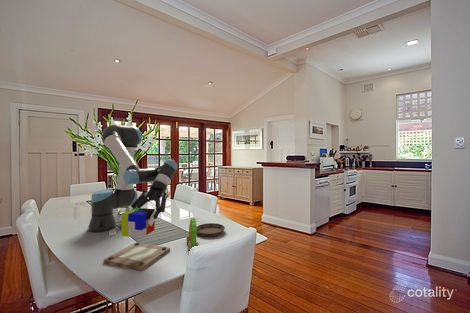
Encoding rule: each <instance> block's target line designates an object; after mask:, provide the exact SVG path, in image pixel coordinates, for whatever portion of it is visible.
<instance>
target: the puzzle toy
mask: <svg viewBox="0 0 470 313" xmlns="http://www.w3.org/2000/svg"><path fill="white" fill-rule="evenodd" d="M154 210H156V208H155V209H154V208H145V207H141V208H134V209H133V208H132V209H128V210H126V211H123V212H121V214H120V216H121V225H120V226H121V229H120V231H121V237H126V238H129V237H130V238H140V239H142V238H145V236H147V235H149V234H151V233H152V232H154V231H155V227H156V226H155V225H156V224H155V221H154V223H153V225H152V226H150V225H149V224H148V221H149V219H150V217H151V215H152V213H153V211H154Z"/></svg>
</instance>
